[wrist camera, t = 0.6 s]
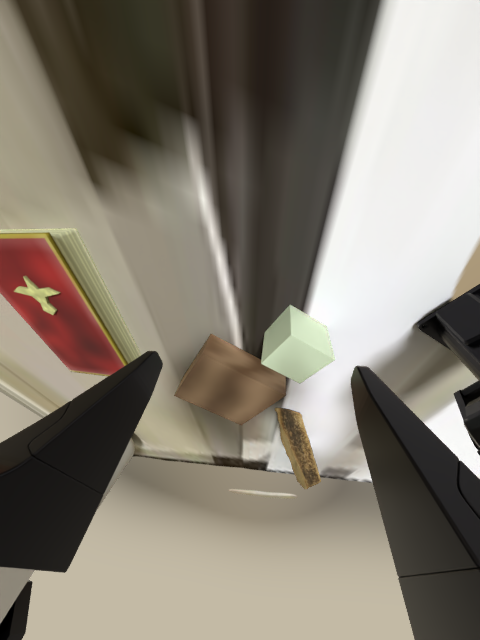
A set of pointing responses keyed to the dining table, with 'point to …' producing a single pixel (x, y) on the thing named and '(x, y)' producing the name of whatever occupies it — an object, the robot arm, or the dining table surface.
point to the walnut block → (230, 382)
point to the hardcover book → (64, 299)
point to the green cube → (296, 345)
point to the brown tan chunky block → (298, 447)
